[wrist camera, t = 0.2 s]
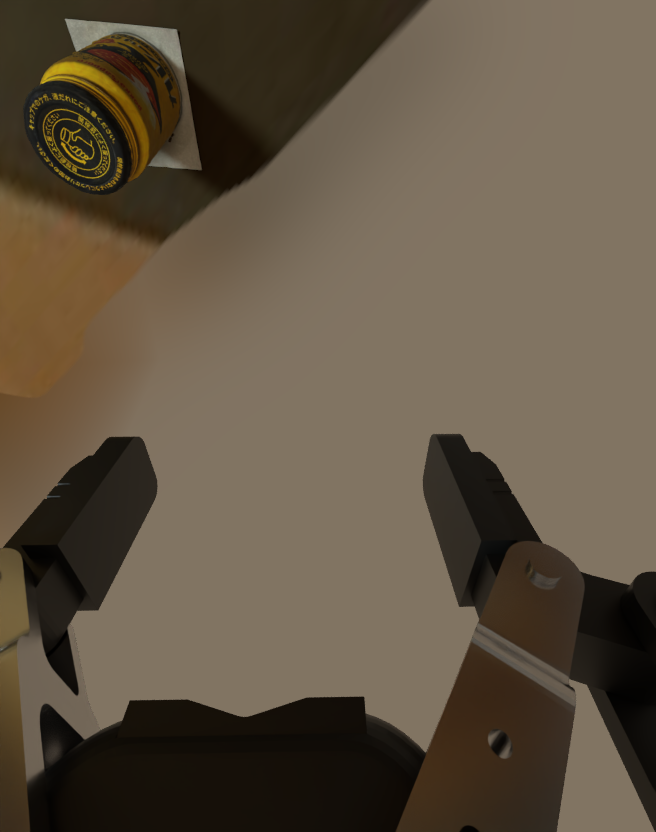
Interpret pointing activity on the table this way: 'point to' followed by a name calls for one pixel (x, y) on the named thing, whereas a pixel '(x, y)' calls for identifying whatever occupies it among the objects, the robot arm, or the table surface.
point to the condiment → (113, 107)
